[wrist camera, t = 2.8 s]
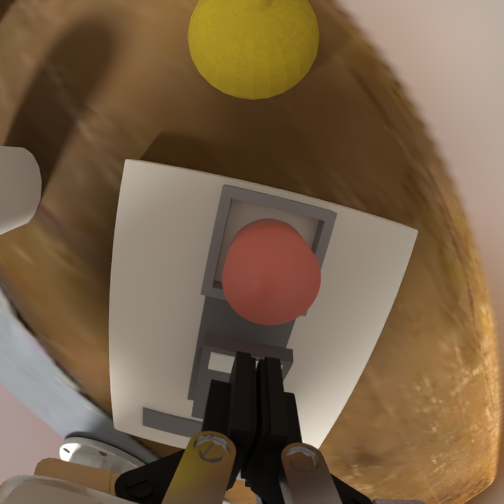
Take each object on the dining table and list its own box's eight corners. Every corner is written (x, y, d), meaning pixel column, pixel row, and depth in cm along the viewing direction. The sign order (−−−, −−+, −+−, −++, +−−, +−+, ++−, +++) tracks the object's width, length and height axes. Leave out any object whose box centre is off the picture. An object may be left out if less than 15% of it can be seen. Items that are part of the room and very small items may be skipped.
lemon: (264, 132, 15) (276, 99, 8) (183, 80, 15) (133, 19, 7) (321, 62, 14) (369, -6, 7) (242, 13, 13) (237, -72, 6)
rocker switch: (256, 417, 17) (256, 429, 16) (193, 405, 17) (190, 417, 16) (292, 349, 13) (293, 363, 13) (206, 332, 13) (202, 346, 12)
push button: (294, 300, 14) (304, 332, 11) (221, 285, 14) (213, 314, 11) (316, 229, 13) (333, 245, 11) (237, 210, 13) (233, 221, 10)
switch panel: (304, 447, 22) (309, 477, 19) (121, 413, 21) (108, 441, 18) (402, 223, 17) (432, 236, 13) (139, 159, 16) (113, 158, 12)
